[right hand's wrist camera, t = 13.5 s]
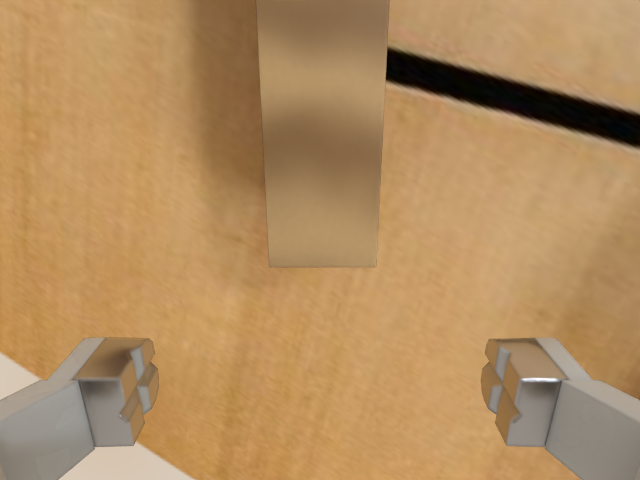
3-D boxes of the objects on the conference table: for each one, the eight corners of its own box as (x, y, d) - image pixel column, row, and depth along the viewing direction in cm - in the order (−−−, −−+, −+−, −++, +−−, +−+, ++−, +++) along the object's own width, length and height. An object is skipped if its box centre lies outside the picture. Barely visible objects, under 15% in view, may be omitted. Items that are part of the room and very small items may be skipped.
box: (359, 205, 38) (376, 267, 26) (284, 205, 38) (268, 268, 26) (371, -187, 28) (408, -367, 17) (271, -187, 28) (237, -366, 17)
